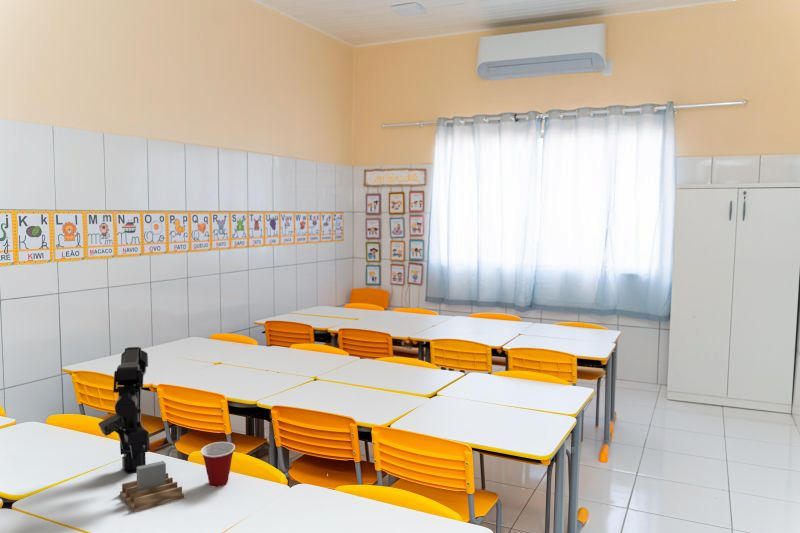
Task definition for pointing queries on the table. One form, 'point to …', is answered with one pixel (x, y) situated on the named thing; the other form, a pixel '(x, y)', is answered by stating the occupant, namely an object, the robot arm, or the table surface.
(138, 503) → the rack
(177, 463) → the table surface
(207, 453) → the plastic cup
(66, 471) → the table surface
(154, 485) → the slate
